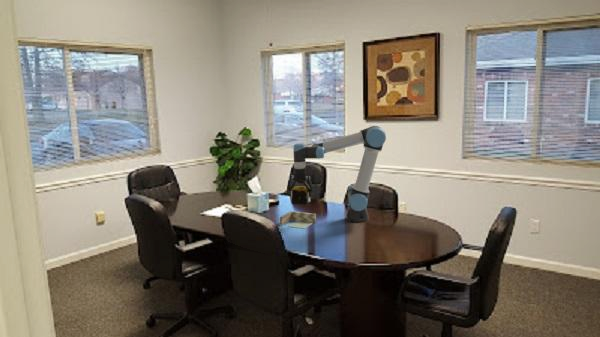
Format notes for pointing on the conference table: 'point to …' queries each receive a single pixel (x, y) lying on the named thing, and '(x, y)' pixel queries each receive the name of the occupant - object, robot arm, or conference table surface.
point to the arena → (297, 217)
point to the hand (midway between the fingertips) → (300, 201)
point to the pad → (300, 225)
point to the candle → (299, 195)
